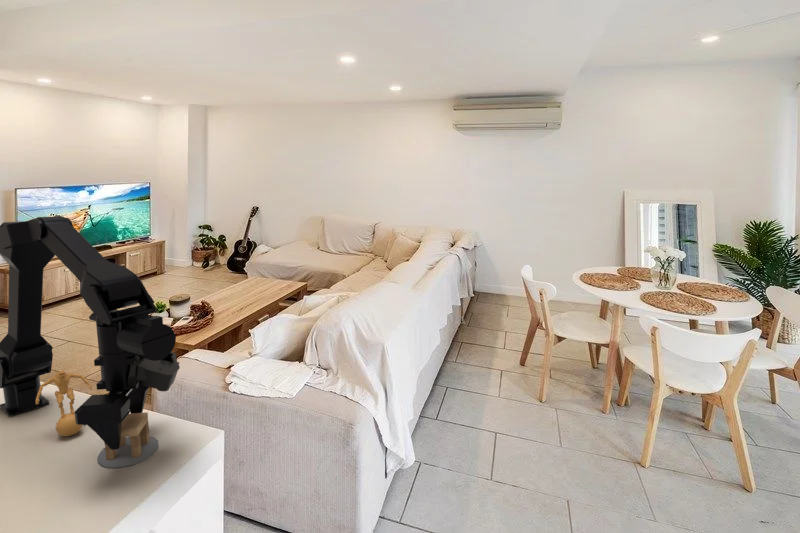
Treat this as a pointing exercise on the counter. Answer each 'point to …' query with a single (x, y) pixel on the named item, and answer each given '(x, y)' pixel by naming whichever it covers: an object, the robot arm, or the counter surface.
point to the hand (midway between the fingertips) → (127, 433)
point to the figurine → (61, 379)
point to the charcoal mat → (128, 454)
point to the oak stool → (132, 434)
